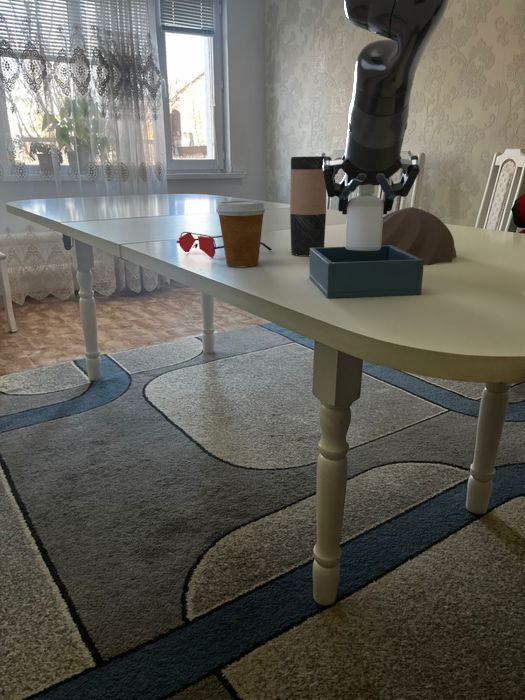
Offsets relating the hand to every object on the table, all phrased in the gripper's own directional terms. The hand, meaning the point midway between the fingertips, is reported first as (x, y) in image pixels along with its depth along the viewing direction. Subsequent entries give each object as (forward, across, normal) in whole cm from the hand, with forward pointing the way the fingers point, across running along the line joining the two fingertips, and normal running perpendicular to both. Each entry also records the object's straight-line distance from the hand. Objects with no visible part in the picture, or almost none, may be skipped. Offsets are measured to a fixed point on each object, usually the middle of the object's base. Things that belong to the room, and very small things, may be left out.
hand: (363, 210), depth 86 cm
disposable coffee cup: (+20, +22, -3) cm, 30 cm away
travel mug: (+29, +9, -12) cm, 33 cm away
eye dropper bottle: (+3, 0, +6) cm, 7 cm away
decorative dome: (+27, -12, -10) cm, 31 cm away
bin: (+7, 0, +10) cm, 12 cm away
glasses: (+30, +28, -13) cm, 43 cm away
